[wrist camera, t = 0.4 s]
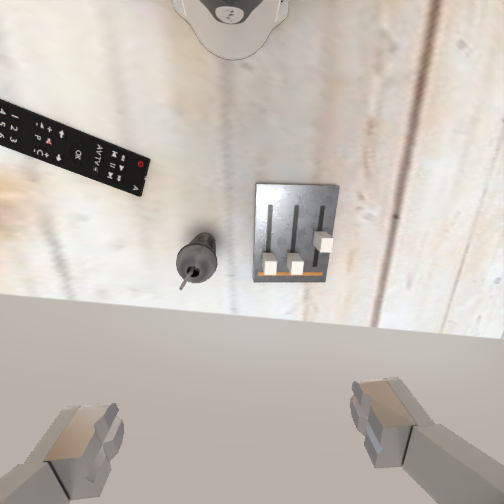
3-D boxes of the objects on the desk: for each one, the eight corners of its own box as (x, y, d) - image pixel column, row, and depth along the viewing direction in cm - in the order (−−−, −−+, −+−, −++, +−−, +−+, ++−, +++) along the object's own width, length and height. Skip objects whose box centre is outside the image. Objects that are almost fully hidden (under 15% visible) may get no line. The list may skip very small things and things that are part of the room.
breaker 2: (287, 252, 53) (292, 261, 49) (298, 252, 53) (303, 261, 49) (286, 265, 54) (290, 274, 50) (296, 265, 54) (302, 274, 50)
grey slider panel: (256, 183, 50) (256, 184, 48) (335, 185, 51) (339, 186, 49) (253, 278, 58) (253, 282, 56) (322, 278, 59) (325, 282, 57)
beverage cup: (227, 248, 55) (222, 293, 36) (200, 262, 55) (180, 314, 37) (210, 220, 52) (195, 253, 33) (182, 236, 53) (151, 276, 34)
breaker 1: (262, 252, 53) (265, 261, 48) (273, 252, 53) (277, 261, 48) (262, 265, 54) (264, 274, 49) (272, 265, 54) (276, 274, 49)
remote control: (143, 196, 50) (140, 197, 48) (-30, 131, 44) (-42, 130, 43) (152, 160, 48) (149, 159, 46) (-30, 86, 42) (-42, 83, 40)
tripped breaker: (314, 231, 52) (322, 238, 47) (325, 231, 52) (333, 238, 47) (312, 244, 53) (320, 252, 48) (323, 244, 53) (331, 252, 48)
